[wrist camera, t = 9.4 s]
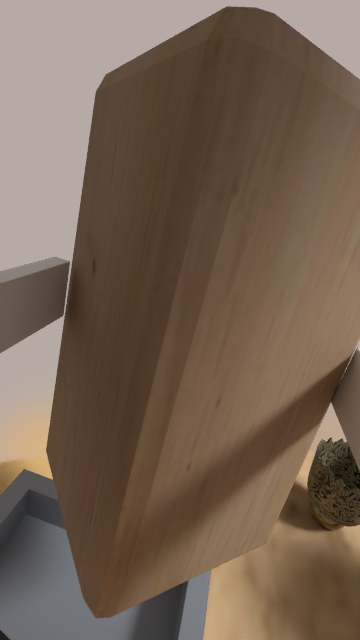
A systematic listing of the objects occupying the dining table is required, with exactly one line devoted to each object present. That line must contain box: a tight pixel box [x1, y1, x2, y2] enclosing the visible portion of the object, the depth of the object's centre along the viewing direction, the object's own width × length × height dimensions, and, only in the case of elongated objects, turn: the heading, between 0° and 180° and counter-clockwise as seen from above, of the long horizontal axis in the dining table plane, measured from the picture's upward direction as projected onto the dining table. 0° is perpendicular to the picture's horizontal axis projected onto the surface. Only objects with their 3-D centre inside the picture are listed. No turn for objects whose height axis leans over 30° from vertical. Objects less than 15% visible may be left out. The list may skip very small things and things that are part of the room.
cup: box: [307, 438, 360, 530], centre depth 35 cm, size 8×7×8 cm
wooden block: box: [46, 7, 360, 618], centre depth 16 cm, size 10×10×20 cm
